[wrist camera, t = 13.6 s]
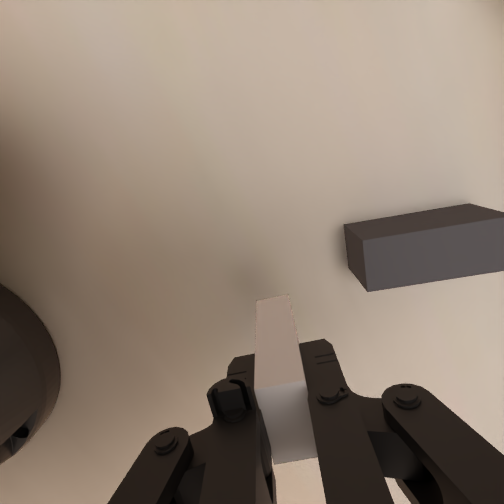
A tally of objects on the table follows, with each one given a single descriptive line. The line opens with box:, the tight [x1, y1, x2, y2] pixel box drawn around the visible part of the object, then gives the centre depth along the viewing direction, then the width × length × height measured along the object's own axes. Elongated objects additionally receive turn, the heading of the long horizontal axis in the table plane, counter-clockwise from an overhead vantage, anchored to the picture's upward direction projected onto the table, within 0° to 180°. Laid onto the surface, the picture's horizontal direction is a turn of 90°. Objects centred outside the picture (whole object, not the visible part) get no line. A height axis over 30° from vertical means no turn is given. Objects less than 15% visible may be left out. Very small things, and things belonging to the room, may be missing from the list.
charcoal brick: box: [344, 204, 504, 292], centre depth 22 cm, size 8×3×4 cm, turn 100°
